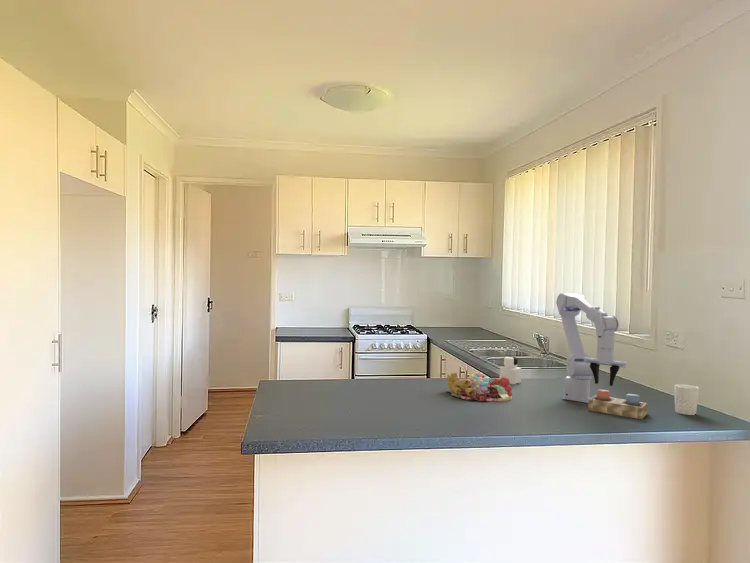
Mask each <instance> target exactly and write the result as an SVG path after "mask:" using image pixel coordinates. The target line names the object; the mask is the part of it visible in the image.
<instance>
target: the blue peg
mask: <svg viewBox="0 0 750 563" xmlns="http://www.w3.org/2000/svg"><path fill="white" fill-rule="evenodd" d="M640 398H641V395H638V394H635V393H634V394H633V393H627V394H625V400H626V404H631V405H637V406H639V403H640V402H641V401H640Z"/></svg>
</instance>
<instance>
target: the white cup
mask: <svg viewBox="0 0 750 563" xmlns="http://www.w3.org/2000/svg"><path fill="white" fill-rule="evenodd" d="M673 388H674V395H673V396H674V412H676V413H677V414H681V415H685V416H696V415H697V408H698V402H699V392H700V387H699V386H695V385H692V384H685V383H676V384H674V387H673ZM695 414H696V415H695Z"/></svg>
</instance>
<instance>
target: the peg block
mask: <svg viewBox="0 0 750 563" xmlns="http://www.w3.org/2000/svg"><path fill="white" fill-rule="evenodd" d="M589 398H590V399H589V402H588V403H587V404H588V406H587V407H588V408H587V410H588V411H592V412H599V413H603V414H609V415H614V416H621V417H627V418H632V419H638V420H643V419H644V418H645V416H646V415H647V414H648V403H647V402H642V401H640V403H639V406H637V405H631V404H626V398H625V399H624V398H619V397H618V398H617V397H612V396H610V401H606V400H600V399H597V394H594V395H593V396H590V397H589Z"/></svg>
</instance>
